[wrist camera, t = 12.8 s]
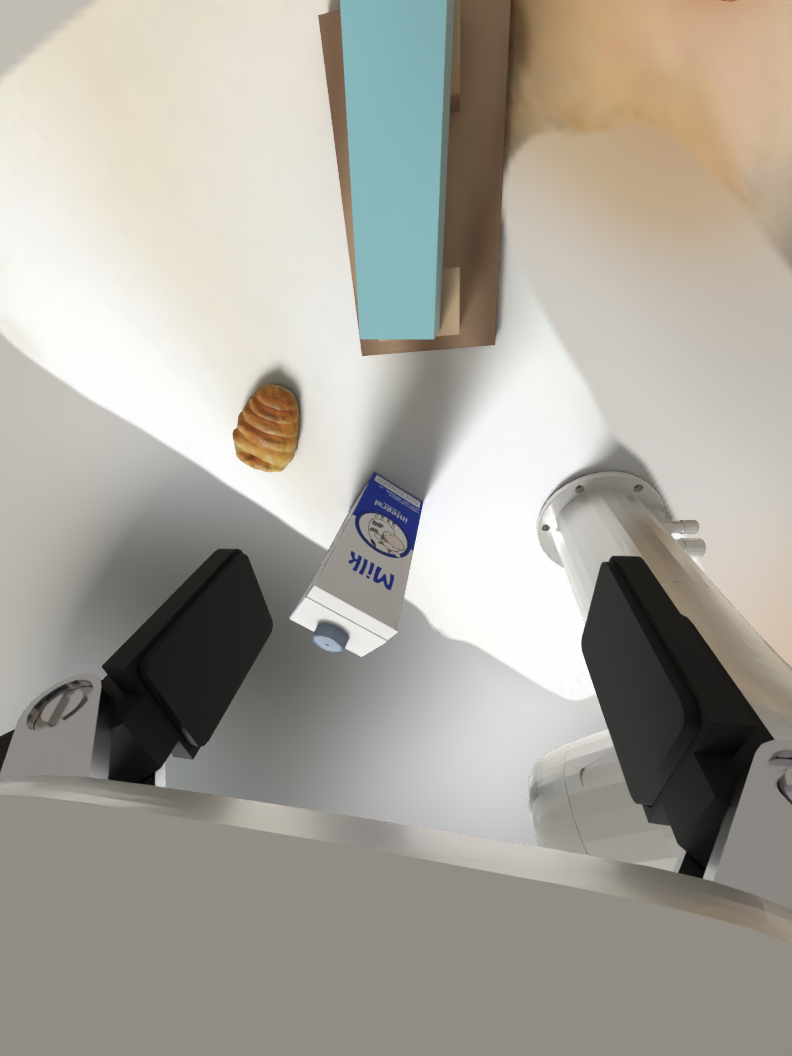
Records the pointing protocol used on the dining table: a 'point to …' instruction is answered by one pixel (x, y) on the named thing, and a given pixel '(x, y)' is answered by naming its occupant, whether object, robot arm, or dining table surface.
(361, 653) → the milk carton
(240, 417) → the pastry
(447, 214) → the display stand
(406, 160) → the pale blue rectangular prism
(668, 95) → the dining table surface
